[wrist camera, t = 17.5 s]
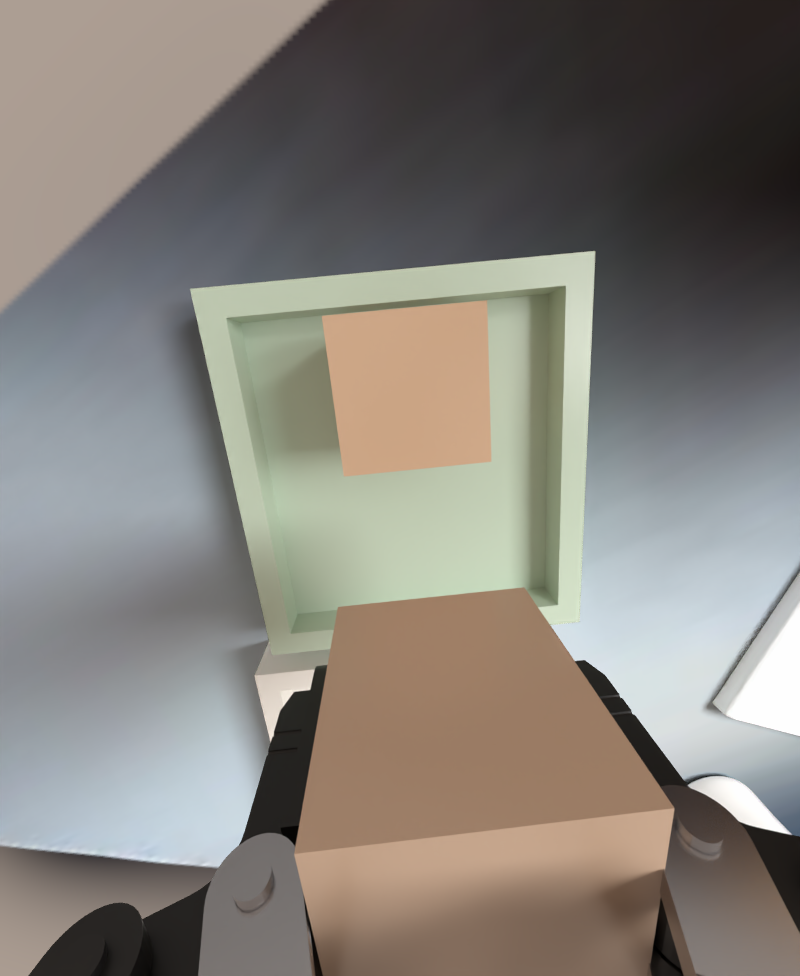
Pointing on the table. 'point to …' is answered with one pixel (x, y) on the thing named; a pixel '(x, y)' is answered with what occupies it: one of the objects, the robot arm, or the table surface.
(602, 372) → the table surface
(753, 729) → the table surface
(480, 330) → the tan boxy piece
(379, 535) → the tray
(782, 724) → the external hard drive
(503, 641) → the tan block
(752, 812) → the drinking glass
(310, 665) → the tray
